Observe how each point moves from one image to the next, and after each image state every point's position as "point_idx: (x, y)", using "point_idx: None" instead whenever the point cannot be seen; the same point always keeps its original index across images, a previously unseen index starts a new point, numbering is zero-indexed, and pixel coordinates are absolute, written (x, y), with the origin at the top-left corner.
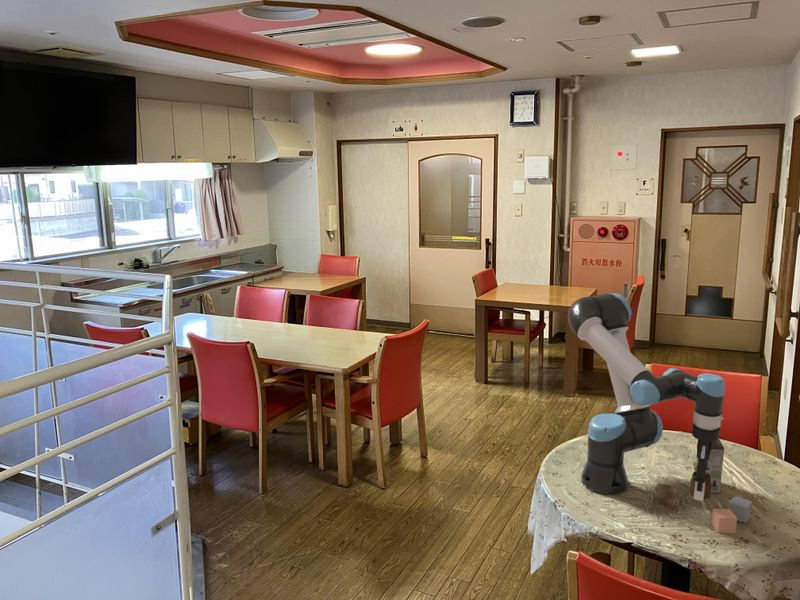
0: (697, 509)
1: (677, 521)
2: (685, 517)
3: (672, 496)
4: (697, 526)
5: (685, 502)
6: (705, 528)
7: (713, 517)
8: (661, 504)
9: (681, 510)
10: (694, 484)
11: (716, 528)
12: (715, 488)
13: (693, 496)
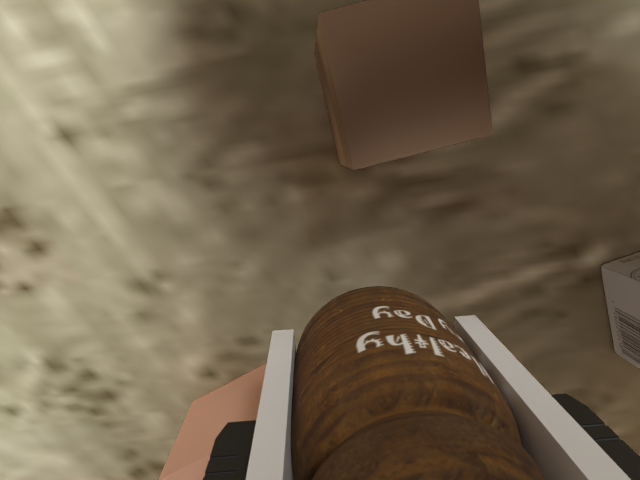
0: (380, 283)
1: (180, 209)
2: (254, 241)
3: (343, 145)
4: (193, 312)
5: (433, 211)
6: (197, 348)
7: (241, 406)
8: (320, 77)
9: (324, 207)
10: (304, 413)
11: (209, 399)
12: (634, 347)
13: (306, 326)
